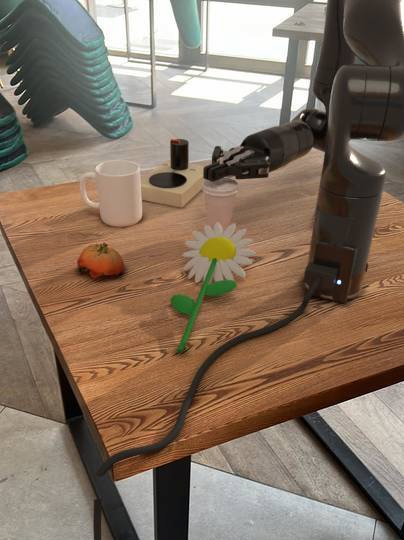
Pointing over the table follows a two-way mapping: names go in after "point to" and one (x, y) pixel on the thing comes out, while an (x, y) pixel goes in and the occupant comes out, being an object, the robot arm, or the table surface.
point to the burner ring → (167, 180)
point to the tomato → (101, 260)
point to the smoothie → (220, 200)
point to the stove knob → (179, 154)
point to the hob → (173, 195)
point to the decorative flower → (212, 267)
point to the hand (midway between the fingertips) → (207, 174)
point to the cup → (116, 192)
